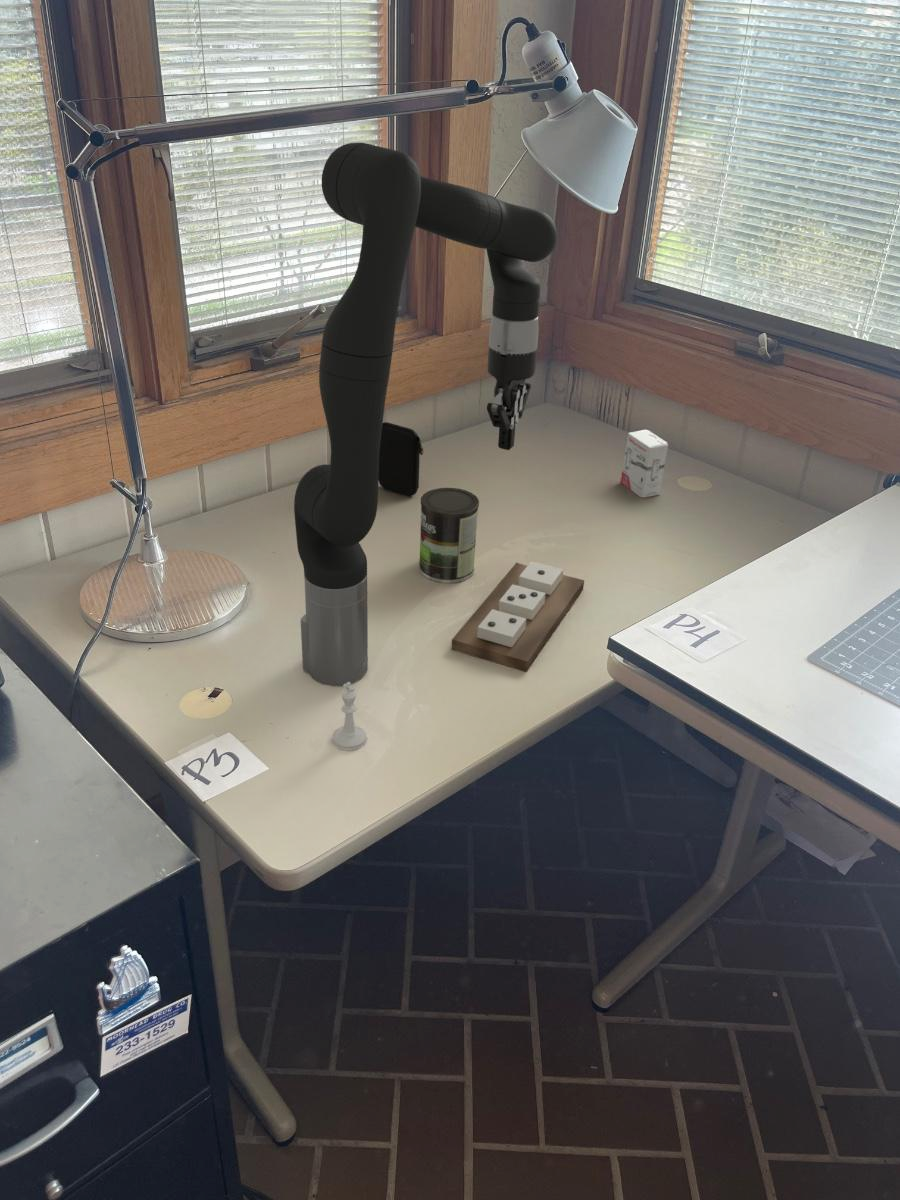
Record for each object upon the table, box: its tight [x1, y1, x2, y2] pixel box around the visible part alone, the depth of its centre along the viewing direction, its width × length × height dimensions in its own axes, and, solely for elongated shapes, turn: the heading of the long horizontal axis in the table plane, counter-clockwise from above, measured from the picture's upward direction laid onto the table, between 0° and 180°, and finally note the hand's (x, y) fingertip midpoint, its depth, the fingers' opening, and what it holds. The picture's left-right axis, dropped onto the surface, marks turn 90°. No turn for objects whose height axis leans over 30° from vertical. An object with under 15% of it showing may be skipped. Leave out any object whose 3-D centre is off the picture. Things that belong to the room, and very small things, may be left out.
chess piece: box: [331, 682, 368, 752], centre depth 141 cm, size 5×5×10 cm
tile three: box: [499, 584, 546, 620], centre depth 170 cm, size 6×6×2 cm
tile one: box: [518, 560, 564, 595], centre depth 177 cm, size 6×6×2 cm
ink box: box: [620, 429, 669, 499], centre depth 214 cm, size 9×5×12 cm, turn 25°
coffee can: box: [418, 487, 480, 584], centre depth 182 cm, size 10×10×14 cm
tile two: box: [477, 609, 526, 647], centre depth 163 cm, size 6×6×2 cm
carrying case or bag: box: [378, 421, 424, 497], centre depth 207 cm, size 11×3×15 cm, turn 58°
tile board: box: [451, 562, 585, 673], centre depth 172 cm, size 13×28×2 cm, turn 155°
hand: (505, 447), depth 166 cm, fingers closed
